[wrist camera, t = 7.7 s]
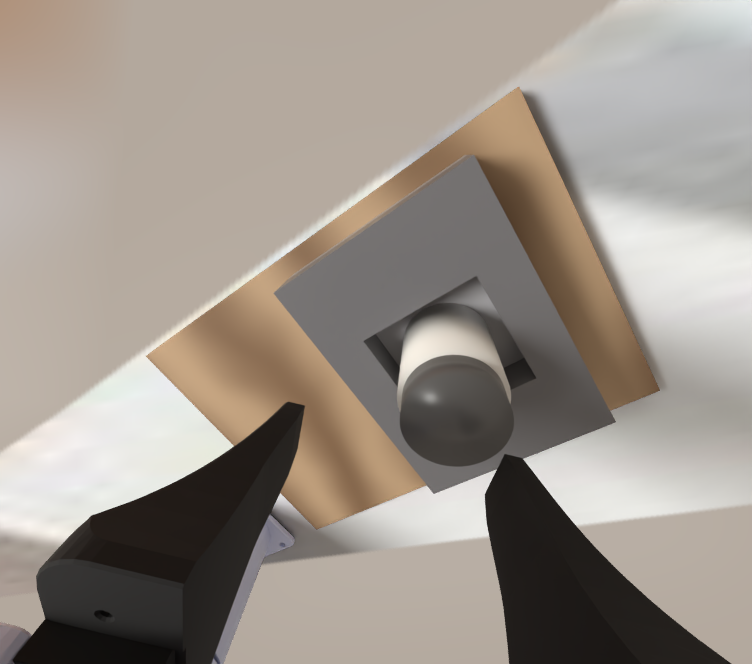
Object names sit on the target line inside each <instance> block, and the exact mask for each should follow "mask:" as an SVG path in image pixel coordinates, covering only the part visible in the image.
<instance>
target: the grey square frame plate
mask: <svg viewBox="0 0 752 664" xmlns="http://www.w3.org/2000/svg"><path fill="white" fill-rule="evenodd" d="M274 295H275V296H276V297H277V298H278V300H279V301H280V302H281V303H282V305H283V306H284V307H285V308H286V310H287V311H288V312H289V313H290V315H291V316H292V317H293V318H294V320H295V321H296V322H297V323H298V325H299V326H300V327H301V328H302V330H303V331H304V332H305V333H306V335H307V336H308V337H309V338H310V340H311V341H312V342H313V343H314V345H315V346H316V347H317V348H318V350H319V351H320V352H321V353H322V355H323V356H324V357H325V358H326V360H327V361H328V362H329V363H330V365H331V366H332V367H333V368H334V370H335V371H336V372H337V373H338V375H339V376H340V377H341V378H342V380H343V381H344V382H345V383H346V385H347V386H348V387H349V388H350V390H351V391H352V392H353V393H354V395H355V396H356V397H357V398H358V400H359V401H360V402H361V403H362V405H363V406H364V407H365V408H366V410H367V411H368V412H369V413H370V415H371V416H372V417H373V418H374V420H375V421H376V422H377V424H378V425H379V426H380V427H381V429H382V430H383V431H384V432H385V434H386V435H387V436H388V437H389V439H390V440H391V441H392V442H393V444H394V445H395V446H396V447H397V449H398V450H399V451H400V452H401V454H402V455H403V456H404V457H405V459H406V460H407V461H408V462H409V464H410V465H411V466H412V467H413V469H414V470H415V471H416V472H417V474H418V475H419V476H420V477H421V479H422V480H423V481H424V482H425V484H426V485H427V486H428V487H429V489H430V490H431V491H432V492H433V494H435V493H437V492H440V491H442V490H445V489H447V488H450V487H452V486H455V485H458V484H460V483H463V482H465V481H468V480H470V479H473V478H475V477H478V476H480V475H483V474H485V473H488V472H491V471H493V470H496V469H498V467H499V464H500V462H501V460H502V458H503V456H504V454H508V455H512V456H516V457H520V458H522V459H524V458H526V457H529V456H531V455H534V454H536V453H539V452H541V451H544V450H546V449H549V448H551V447H554V446H557V445H559V444H562V443H564V442H567V441H569V440H572V439H574V438H577V437H579V436H582V435H584V434H587V433H590V432H592V431H595V430H597V429H600V428H602V427H605V426H607V425H610V424H612V423H615V422H616V421H615V420H614V418H613V416H612V414H611V412H610V410H609V408H608V406H607V404H606V403H605V401H604V399H603V397H602V395H601V393H600V391H599V389H598V388H597V386H596V384H595V382H594V380H593V378H592V376H591V374H590V372H589V371H588V369H587V367H586V365H585V363H584V361H583V359H582V357H581V355H580V354H579V352H578V350H577V348H576V346H575V344H574V342H573V340H572V338H571V337H570V335H569V333H568V331H567V329H566V327H565V325H564V323H563V322H562V320H561V318H560V316H559V314H558V312H557V310H556V308H555V306H554V305H553V303H552V301H551V299H550V297H549V295H548V293H547V291H546V289H545V288H544V286H543V284H542V282H541V280H540V278H539V276H538V274H537V272H536V271H535V269H534V267H533V265H532V263H531V261H530V259H529V257H528V255H527V254H526V252H525V250H524V248H523V246H522V244H521V242H520V240H519V239H518V237H517V235H516V233H515V231H514V229H513V227H512V225H511V223H510V222H509V220H508V218H507V216H506V214H505V212H504V210H503V208H502V206H501V205H500V203H499V201H498V199H497V197H496V195H495V193H494V191H493V189H492V188H491V186H490V184H489V182H488V180H487V178H486V176H485V174H484V173H483V171H482V169H481V167H480V165H479V163H478V161H477V159H476V157H475V156H474V155H464V156H463V157H461V158H460V159H458V160H457V161H455V162H454V163H453V164H451V165H450V166H448V167H447V168H445V169H444V170H442V171H441V172H440V173H438V174H437V175H435V176H434V177H432V178H431V179H430V180H428V181H427V182H425V183H424V184H422V185H421V186H419V187H418V188H417V189H415V190H414V191H412V192H411V193H409V194H408V195H407V196H405V197H404V198H402V199H401V200H399V201H398V202H396V203H395V204H394V205H392V206H391V207H389V208H388V209H386V210H385V211H384V212H382V213H381V214H379V215H378V216H376V217H375V218H373V219H372V220H371V221H369V222H368V223H366V224H365V225H363V226H362V227H361V228H359V229H358V230H356V231H355V232H353V233H352V234H350V235H349V236H348V237H346V238H345V239H343V240H342V241H340V242H339V243H338V244H336V245H335V246H333V247H332V248H330V249H329V250H327V251H326V252H325V253H323V254H322V255H320V256H319V257H317V258H316V259H315V260H313V261H312V262H310V263H309V264H307V265H306V266H304V267H303V268H302V269H300V270H299V271H297V272H296V273H294V274H293V275H292V276H291V277H290V278H289V279H288V280H287V281H286V282H285V283H284V284H282V285H281V286H280V287H279V288H278V289H277V290H276V291H275V292H274ZM439 303H456V304H461V305H464V306H467V307H469V308H471V309H472V310H474V311H475V312H477V313H478V314H479V315H480V316H481V317H482V318H483V319H484V321H485V322H486V324H487V326H488V328H489V331H490V334H491V336H492V339H493V342H494V345H495V347H496V350H497V353H498V355H499V358H500V361H501V364H502V366H503V369H504V372H505V374H506V377H507V380H508V383H509V385H510V390H511V404H510V405H511V408H512V411H513V416H514V427H513V432H512V435H511V437H510V439H509V441H508V442H507V444H506V445H505V447H504V448H503V449H502V450H501V451H500V452H498V453H497V454H496V455H495V456H493V457H491V458H490V459H488V460H486V461H484V462H481V463H478V464H474V465H470V466H462V467H453V466H445V465H440V464H436V463H433V462H431V461H428V460H426V459H424V458H423V457H421V456H420V455H418V454H417V453H416V452H414V451H413V450H412V449H411V448H410V446H409V445H408V444H407V442H406V441H405V439H404V437H403V435H402V432H401V429H400V411H399V408H398V403H397V390H398V381H399V373H400V365H401V356H402V348H403V339H404V334H405V330H406V328H407V326H408V324H409V322H410V321H411V320H412V318H413V317H414V316H415V315H416V314H418V313H419V312H420V311H422V310H423V309H425V308H427V307H429V306H432V305H435V304H439Z"/></svg>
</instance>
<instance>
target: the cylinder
mask: <svg viewBox="0 0 752 664" xmlns="http://www.w3.org/2000/svg"><path fill="white" fill-rule="evenodd" d="M397 403H398V408H399V411H400V429H401V432H402V435H403V437H404V439H405V441H406V442H407V444H408V445H409V446H410V448H411V449H412V450H413V451H414V452H416V453H417V454H418V455H420V456H421V457H423V458H424V459H426V460H428V461H431V462H433V463H436V464H440V465H445V466H453V467H462V466H470V465H474V464H478V463H481V462H484V461H486V460H488V459H490V458H491V457H493V456H495V455H496V454H497V453H498V452H500V451H501V450H502V449H503V448H504V447H505V445H506V444H507V442H508V441H509V439H510V437H511V435H512V432H513V427H514V416H513V411H512V408H511V405H510V404H511V390H510V385H509V383H508V380H507V377H506V374H505V372H504V369H503V366H502V364H501V361H500V358H499V355H498V353H497V350H496V347H495V345H494V342H493V339H492V336H491V334H490V331H489V328H488V326H487V324H486V322H485V321H484V319H483V318H482V317H481V316H480V315H479V314H478V313H477V312H475V311H474V310H472V309H471V308H469V307H467V306H464V305H461V304H456V303H439V304H435V305H432V306H429V307H427V308H425V309H423V310H422V311H420V312H419V313H418V314H416V315H415V316H414V317H413V318H412V320H411V321H410V322H409V324H408V326H407V328H406V330H405V334H404V339H403V348H402V356H401V365H400V373H399V381H398V390H397Z"/></svg>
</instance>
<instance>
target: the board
mask: <svg viewBox="0 0 752 664" xmlns="http://www.w3.org/2000/svg"><path fill="white" fill-rule="evenodd" d="M464 155H474V156H475V157H476V159H477V161H478V163H479V165H480V167H481V169H482V171H483V173H484V174H485V176H486V178H487V180H488V182H489V184H490V186H491V188H492V189H493V191H494V193H495V195H496V197H497V199H498V201H499V203H500V205H501V206H502V208H503V210H504V212H505V214H506V216H507V218H508V220H509V222H510V223H511V225H512V227H513V229H514V231H515V233H516V235H517V237H518V239H519V240H520V242H521V244H522V246H523V248H524V250H525V252H526V254H527V255H528V257H529V259H530V261H531V263H532V265H533V267H534V269H535V271H536V272H537V274H538V276H539V278H540V280H541V282H542V284H543V286H544V288H545V289H546V291H547V293H548V295H549V297H550V299H551V301H552V303H553V305H554V306H555V308H556V310H557V312H558V314H559V316H560V318H561V320H562V322H563V323H564V325H565V327H566V329H567V331H568V333H569V335H570V337H571V338H572V340H573V342H574V344H575V346H576V348H577V350H578V352H579V354H580V355H581V357H582V359H583V361H584V363H585V365H586V367H587V369H588V371H589V372H590V374H591V376H592V378H593V380H594V382H595V384H596V386H597V388H598V389H599V391H600V393H601V395H602V397H603V399H604V401H605V403H606V404H607V406H608V408H609V410H610V411H611V410H613V409H616V408H618V407H621V406H623V405H625V404H628V403H630V402H633V401H635V400H638V399H640V398H643V397H645V396H648V395H650V394H653V393H655V392H658V391H660V389H659V387H658V385H657V383H656V381H655V379H654V376H653V374H652V372H651V370H650V368H649V366H648V364H647V361H646V359H645V357H644V355H643V353H642V351H641V348H640V346H639V344H638V342H637V340H636V338H635V336H634V333H633V331H632V329H631V327H630V325H629V323H628V320H627V318H626V316H625V314H624V312H623V310H622V308H621V305H620V303H619V301H618V299H617V297H616V295H615V292H614V290H613V288H612V286H611V284H610V282H609V280H608V277H607V275H606V273H605V271H604V269H603V267H602V264H601V262H600V260H599V258H598V256H597V254H596V252H595V249H594V247H593V245H592V243H591V241H590V239H589V236H588V234H587V232H586V230H585V228H584V226H583V224H582V221H581V219H580V217H579V215H578V213H577V211H576V208H575V206H574V204H573V202H572V200H571V198H570V196H569V193H568V191H567V189H566V187H565V185H564V183H563V180H562V178H561V176H560V174H559V172H558V170H557V168H556V165H555V163H554V161H553V159H552V157H551V155H550V152H549V150H548V148H547V146H546V144H545V142H544V140H543V137H542V135H541V133H540V131H539V129H538V127H537V124H536V122H535V120H534V118H533V116H532V114H531V112H530V109H529V107H528V105H527V103H526V101H525V99H524V96H523V94H522V92H521V90H520V88H519V87H517V88H516V89H514V90H513V91H512V92H510V93H509V94H508V95H506V96H505V97H503V98H502V99H501V100H499V101H498V102H496V103H495V104H494V105H492V106H491V107H490V108H488V109H487V110H485V111H484V112H483V113H481V114H480V115H478V116H477V117H476V118H474V119H473V120H472V121H470V122H469V123H467V124H466V125H465V126H463V127H462V128H460V129H459V130H458V131H456V132H455V133H454V134H452V135H451V136H449V137H448V138H447V139H445V140H444V141H442V142H441V143H440V144H438V145H437V146H436V147H434V148H433V149H431V150H430V151H429V152H427V153H426V154H425V155H423V156H422V157H420V158H419V159H418V160H416V161H415V162H413V163H412V164H411V165H409V166H408V167H407V168H405V169H404V170H402V171H401V172H400V173H398V174H397V175H395V176H394V177H393V178H391V179H390V180H389V181H387V182H386V183H384V184H383V185H382V186H380V187H379V188H377V189H376V190H375V191H373V192H372V193H371V194H369V195H368V196H366V197H365V198H364V199H362V200H361V201H360V202H358V203H357V204H355V205H354V206H353V207H351V208H350V209H348V210H347V211H346V212H344V213H343V214H342V215H340V216H339V217H337V218H336V219H335V220H333V221H332V222H330V223H329V224H328V225H326V226H325V227H324V228H322V229H321V230H319V231H318V232H317V233H315V234H314V235H312V236H311V237H310V238H308V239H307V240H306V241H304V242H303V243H301V244H300V245H299V246H297V247H296V248H294V249H293V250H292V251H290V252H289V253H288V254H286V255H285V256H283V257H282V258H281V259H279V260H278V261H277V262H275V263H274V264H272V265H271V266H270V267H268V268H267V269H265V270H264V271H263V272H261V273H260V274H259V275H257V276H256V277H254V278H253V279H252V280H250V281H249V282H247V283H246V284H245V285H243V286H242V287H241V288H239V289H238V290H236V291H235V292H234V293H232V294H231V295H229V296H228V297H227V298H225V299H224V300H223V301H221V302H220V303H218V304H217V305H216V306H214V307H213V308H212V309H210V310H209V311H207V312H206V313H205V314H203V315H202V316H200V317H199V318H198V319H196V320H195V321H194V322H192V323H191V324H189V325H188V326H187V327H185V328H184V329H182V330H181V331H180V332H178V333H177V334H176V335H174V336H173V337H171V338H170V339H169V340H167V341H166V342H164V343H163V344H162V345H160V346H159V347H158V348H156V349H155V350H153V351H152V352H151V353H149V354H148V355H147V356H146V357H147V358H148V359H149V360H150V361H151V362H152V363H153V364H154V365H155V366H156V367H157V368H158V369H159V370H160V371H161V372H162V373H163V374H164V375H165V376H166V377H167V378H168V379H169V380H170V381H171V382H172V383H173V384H174V385H175V386H176V387H177V388H178V389H179V390H180V391H181V392H182V393H183V395H184V396H185V397H186V398H187V399H188V400H189V401H190V402H191V403H192V404H193V405H194V406H195V407H196V408H197V409H198V410H199V411H200V412H201V413H202V414H203V415H204V416H205V417H206V418H207V419H208V420H209V421H210V422H211V423H212V424H213V425H214V426H215V427H216V428H217V429H218V430H219V431H220V432H221V433H222V434H223V435H224V436H225V437H226V438H227V439H228V440H229V441H230V442H231V443H232V444H233V445H234V446H235V445H237V444H238V443H239V442H241V441H242V440H243V439H245V438H246V437H247V436H249V435H250V434H251V433H252V432H254V431H255V430H256V429H257V428H258V427H260V426H261V425H262V424H263V423H264V422H265V421H267V420H268V419H269V418H270V417H271V416H272V415H273V414H274V413H275V412H276V411H277V410H279V409H280V408H281V407H282V406H283V405H284V404H285V403H286V402H293V403H297V404H301V405H305V409H304V415H303V421H302V427H301V432H300V438H299V444H298V450H297V453H296V455H295V458H294V461H293V464H292V467H291V470H290V472H289V475H288V477H287V479H286V482H285V484H284V486H283V488H282V490H281V492H280V493H281V494H282V495H283V496H284V497H285V498H286V499H287V500H288V501H289V502H290V503H291V504H292V505H293V506H294V507H295V508H296V509H297V510H298V511H299V512H300V513H301V514H302V515H303V516H304V517H305V518H306V519H307V520H308V521H309V522H310V523H311V524H312V525H313V526H314V527H315V528H316V530H317V529H319V528H322V527H324V526H327V525H329V524H332V523H334V522H337V521H339V520H342V519H344V518H347V517H349V516H351V515H354V514H356V513H359V512H361V511H364V510H366V509H369V508H371V507H374V506H376V505H379V504H381V503H384V502H386V501H389V500H391V499H393V498H396V497H398V496H401V495H403V494H406V493H408V492H411V491H413V490H416V489H418V488H421V487H423V486H426V484H425V482H424V481H423V480H422V479H421V477H420V476H419V475H418V474H417V472H416V471H415V470H414V469H413V467H412V466H411V465H410V464H409V462H408V461H407V460H406V459H405V457H404V456H403V455H402V454H401V452H400V451H399V450H398V449H397V447H396V446H395V445H394V444H393V442H392V441H391V440H390V439H389V437H388V436H387V435H386V434H385V432H384V431H383V430H382V429H381V427H380V426H379V425H378V424H377V422H376V421H375V420H374V418H373V417H372V416H371V415H370V413H369V412H368V411H367V410H366V408H365V407H364V406H363V405H362V403H361V402H360V401H359V400H358V398H357V397H356V396H355V395H354V393H353V392H352V391H351V390H350V388H349V387H348V386H347V385H346V383H345V382H344V381H343V380H342V378H341V377H340V376H339V375H338V373H337V372H336V371H335V370H334V368H333V367H332V366H331V365H330V363H329V362H328V361H327V360H326V358H325V357H324V356H323V355H322V353H321V352H320V351H319V350H318V348H317V347H316V346H315V345H314V343H313V342H312V341H311V340H310V338H309V337H308V336H307V335H306V333H305V332H304V331H303V330H302V328H301V327H300V326H299V325H298V323H297V322H296V321H295V320H294V318H293V317H292V316H291V315H290V313H289V312H288V311H287V310H286V308H285V307H284V306H283V305H282V303H281V302H280V301H279V300H278V298H277V297H276V296H275V295H274V292H275V291H276V290H277V289H278V288H279V287H280V286H281V285H282V284H284V283H285V282H286V281H287V280H288V279H289V278H290V277H291V276H292V275H293V274H294V273H296V272H297V271H299V270H300V269H302V268H303V267H304V266H306V265H307V264H309V263H310V262H312V261H313V260H315V259H316V258H317V257H319V256H320V255H322V254H323V253H325V252H326V251H327V250H329V249H330V248H332V247H333V246H335V245H336V244H338V243H339V242H340V241H342V240H343V239H345V238H346V237H348V236H349V235H350V234H352V233H353V232H355V231H356V230H358V229H359V228H361V227H362V226H363V225H365V224H366V223H368V222H369V221H371V220H372V219H373V218H375V217H376V216H378V215H379V214H381V213H382V212H384V211H385V210H386V209H388V208H389V207H391V206H392V205H394V204H395V203H396V202H398V201H399V200H401V199H402V198H404V197H405V196H407V195H408V194H409V193H411V192H412V191H414V190H415V189H417V188H418V187H419V186H421V185H422V184H424V183H425V182H427V181H428V180H430V179H431V178H432V177H434V176H435V175H437V174H438V173H440V172H441V171H442V170H444V169H445V168H447V167H448V166H450V165H451V164H453V163H454V162H455V161H457V160H458V159H460V158H461V157H463V156H464Z"/></svg>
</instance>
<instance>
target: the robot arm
mask: <svg viewBox="0 0 752 664" xmlns="http://www.w3.org/2000/svg"><path fill="white" fill-rule="evenodd" d="M304 409H305V405H301V404H297V403H293V402H286V403H285V404H284V405H283V406H282V407H281V408H280V409H279V410H277V411H276V412H275V413H274V414H273V415H272V416H271V417H270V418H269V419H268V420H267V421H265V422H264V423H263V424H262V425H261V426H260V427H258V428H257V429H256V430H255V431H254V432H252V433H251V434H250V435H249V436H247V437H246V438H245V439H243V440H242V441H241V442H239V443H238V444H237V445H235V446H234V447H233V448H231V449H230V450H228V451H227V452H226V453H224V454H223V455H221V456H220V457H218V458H216V459H215V460H213V461H212V462H210V463H208V464H207V465H205V466H204V467H202V468H200V469H198V470H196V471H195V472H193V473H191V474H189V475H187V476H186V477H184V478H182V479H180V480H178V481H176V482H174V483H172V484H170V485H168V486H166V487H164V488H161V489H159V490H157V491H155V492H153V493H150V494H148V495H146V496H144V497H141V498H139V499H136V500H134V501H131V502H129V503H126V504H123V505H120V506H118V507H115V508H112V509H109V510H106V511H104V512H101V513H98V514H95V515H92V516H91V517H90V518H89V519H88V520H87V521H86V522H84V523H83V524H82V525H81V526H80V527H79V528H78V529H76V530H75V531H74V532H73V533H72V534H71V535H70V536H69V537H68V538H67V540H66V541H65V542H64V543H63V544H62V545H61V546H60V547H59V548H58V549H57V550H56V552H55V553H54V554H53V555H52V556H51V557H50V558H49V559H48V560H47V561H46V562H45V564H44V565H43V566H42V567H41V568H40V570H39V572H38V574H37V576H36V579H37V590H38V594H39V597H40V601H41V605H42V608H43V612H44V615H45V620H44V621H43V623H42V624H41V625H40V626H39V628H38V629H37V630H36V631H35V633H34V634H33V635H32V636H31V634H30V633H29V632H28V631H26V630H25V629H23V628H20V627H17V626H14V625H10V624H6V623H1V622H0V664H223V663H224V661H225V658H226V655H227V653H228V650H229V647H230V645H231V642H232V640H233V637H234V635H235V632H236V629H237V627H238V624H239V621H240V619H241V616H242V614H243V611H244V608H245V606H246V603H247V600H248V598H249V595H250V593H251V590H252V588H253V585H254V582H255V580H256V577H257V575H258V572H259V569H260V567H261V564H262V561H263V559H264V557H266V556H268V555H271V554H273V553H276V552H278V551H281V550H283V549H286V548H288V547H291V546H293V544H294V541H295V539H294V537H293V536H292V535H291V534H290V533H289V532H288V531H287V530H286V529H285V528H284V527H283V526H282V525H281V524H280V523H279V522H277V521H276V520H275V519H274V518H273V517H272V516H271V515H270V513H271V511H272V508H273V506H274V504H275V502H276V500H277V498H278V496H279V494H280V492H281V490H282V488H283V486H284V484H285V482H286V479H287V477H288V475H289V472H290V470H291V467H292V464H293V461H294V458H295V455H296V453H297V450H298V444H299V438H300V432H301V427H302V421H303V415H304ZM485 505H486V518H487V526H488V532H489V537H490V541H491V546H492V551H493V556H494V560H495V565H496V570H497V575H498V580H499V585H500V590H501V595H502V601H503V606H504V616H505V625H506V633H507V642H508V654H509V664H731V663H730V662H728V661H727V660H725V659H724V658H723V657H721V656H720V655H719V654H717V653H716V652H715V651H713V650H712V649H711V648H709V647H708V646H707V645H705V644H704V643H703V642H701V641H700V640H698V639H697V638H696V637H694V636H693V635H692V634H691V633H689V632H688V631H687V630H686V629H684V628H683V627H682V626H681V625H679V624H678V623H677V622H676V621H674V620H673V619H672V618H671V617H670V616H668V615H667V614H666V613H665V612H663V611H662V610H661V609H660V608H659V607H657V606H656V605H655V604H654V603H653V602H652V601H651V600H649V599H648V598H647V597H646V596H645V595H644V594H643V593H642V592H641V591H639V590H638V589H637V588H636V587H635V586H634V585H633V584H632V583H631V582H630V581H628V580H627V579H626V578H625V577H624V576H623V575H622V574H621V573H620V572H619V571H618V570H617V569H616V568H615V567H614V566H613V565H612V564H611V563H610V562H609V561H608V560H607V559H606V558H605V557H604V556H603V555H602V554H601V553H600V552H599V551H598V550H597V549H596V548H595V547H594V546H593V545H592V543H591V542H590V541H589V540H588V539H587V538H586V537H585V536H584V535H583V533H582V532H581V531H580V530H579V529H578V528H577V526H576V525H575V524H574V523H573V522H572V521H571V519H570V518H569V517H568V516H567V515H566V513H565V512H564V511H563V510H562V509H561V507H560V506H559V505H558V504H557V502H556V501H555V500H554V499H553V497H552V496H551V495H550V493H549V492H548V491H547V490H546V488H545V487H544V486H543V484H542V483H541V482H540V480H539V479H538V478H537V476H536V475H535V474H534V473H533V471H532V470H531V469H530V467H529V466H528V465H527V464H526V462H525V461H524V460H523V459H522V458H520V457H516V456H512V455H508V454H504V456H503V458H502V460H501V462H500V464H499V467H498V469H497V471H496V473H495V475H494V477H493V479H492V481H491V483H490V485H489V487H488V489H487V491H486V493H485Z"/></svg>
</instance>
